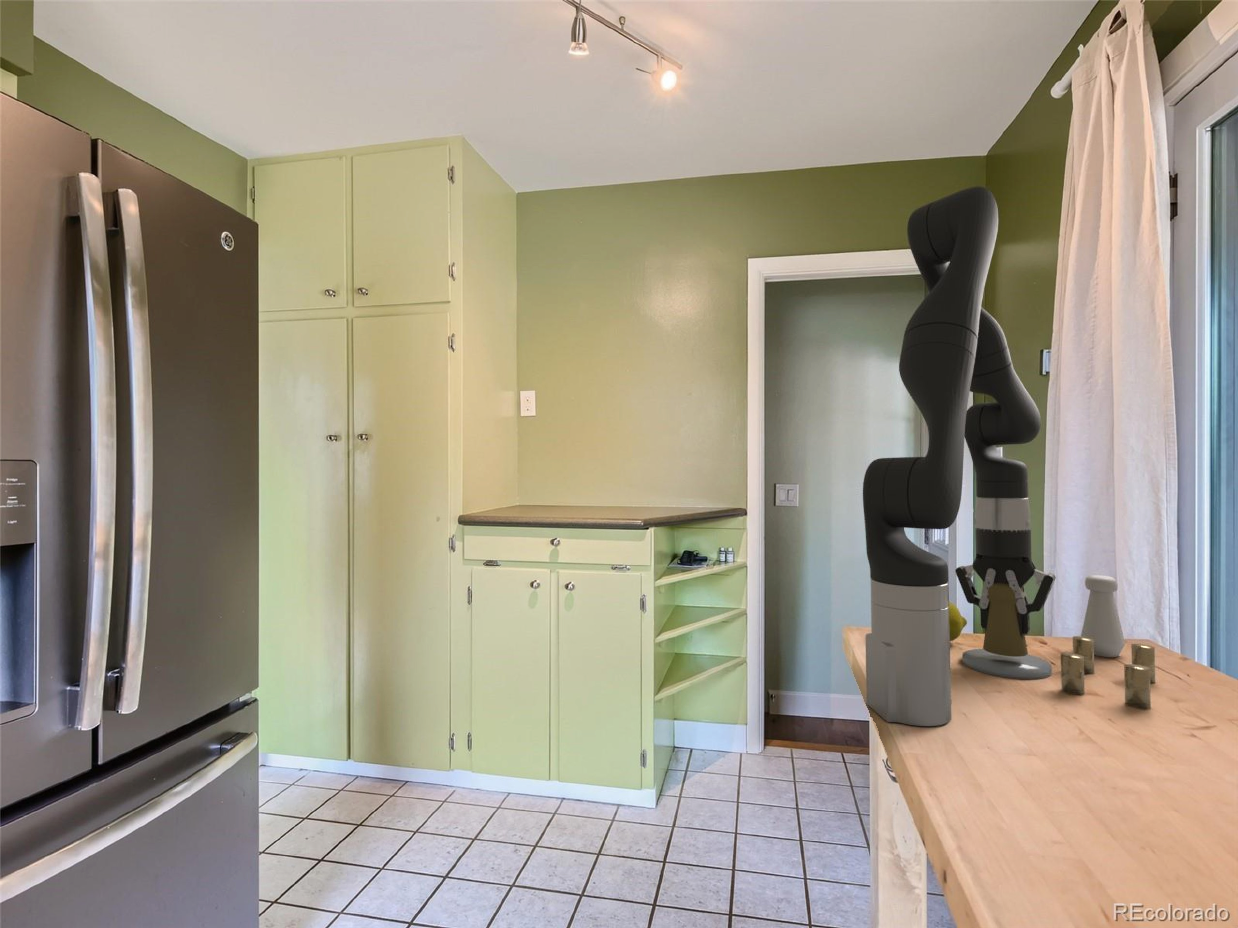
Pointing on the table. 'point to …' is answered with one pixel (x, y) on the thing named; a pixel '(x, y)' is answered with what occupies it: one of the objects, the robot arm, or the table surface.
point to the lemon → (955, 622)
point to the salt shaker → (1103, 617)
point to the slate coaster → (1007, 665)
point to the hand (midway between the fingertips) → (1004, 633)
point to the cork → (1003, 623)
